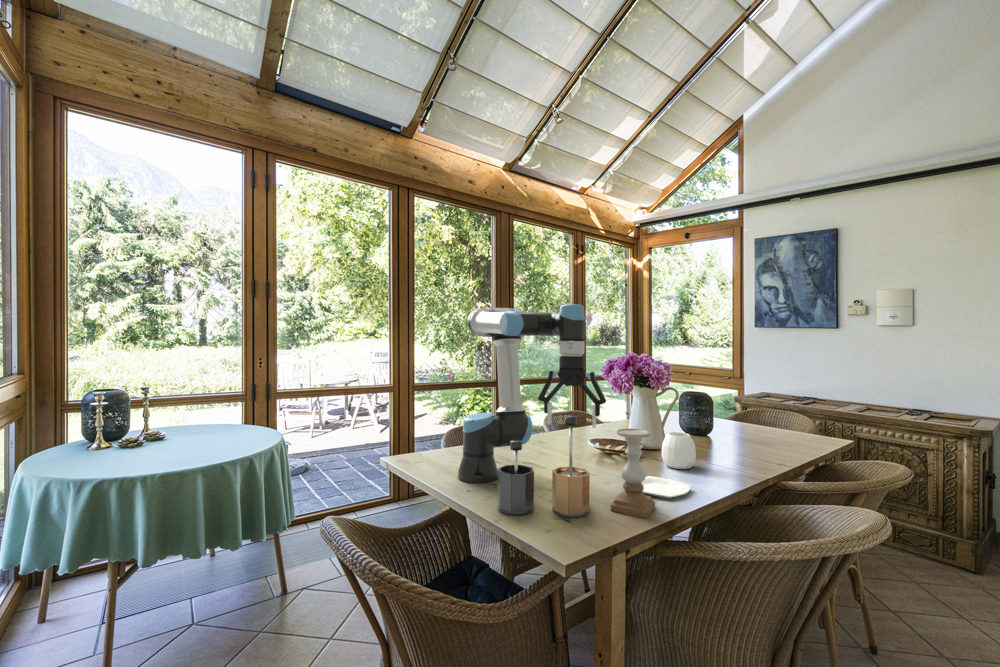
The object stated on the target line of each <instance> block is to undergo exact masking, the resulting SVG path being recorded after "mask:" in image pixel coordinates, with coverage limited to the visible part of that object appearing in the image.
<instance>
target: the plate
mask: <svg viewBox="0 0 1000 667" xmlns="http://www.w3.org/2000/svg"><path fill="white" fill-rule="evenodd" d="M641 484H642V485H643V487H644V489H643V491H642V493H643V494H645V495H647V496H651V497H656V496H657V497H656V498H661V497H662V499H667V498H668V499H672V497H673V498H677V497H681V496H683V495H686V494H688V493H689V492H690V491H691V488H692V485H689V484H687V483H684V482H680V481H677V480H674V479H669V478H665V477H664V478H663V477H659V476H653V475H652V476H651V475H648V476H646V478H645V480H644V481H643V482H641Z"/></svg>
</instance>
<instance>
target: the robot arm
mask: <svg viewBox="0 0 1000 667" xmlns="http://www.w3.org/2000/svg"><path fill="white" fill-rule="evenodd" d="M585 322H586V317H585V308H584V305H582V304H578V303H577V304H575V303H574V304H572V303H571V304H570V303H569V304H562V305H560V307H559V312H541V311H539V312H538V311H537V312H536V311H532V312H531V311H521V310H520V309H518V308H510V307H487V306H486V307H479V308H476V309H473V310H472V311H471V312H470V313H469V314H468V316H467V320H466V324H467V328H468V329H469V332H471V333H472V334H474V335H476V336H478V337H483V338H491V343H492V344H493V345H494V346H495V348H496V349H495V350H496V351H495V352H496V365H497V368H496V369H497V385H498V386H497V390H498V408H497V409H496V411H495V414H494V413H492V412H478V413H477V412H476V413H474V414H470V415H468V416H466V417H465V418H464V419H463V425H462V426H463V427H462V457H461V461H460V464H459V467H458V471H457V478H458V480H460V481H463V482H467V483H473V484H474V483H475V484H477V483H478V484H480V483H488V482H494V481H495V480H497V479H498V466H497V463H496V458H495V453H494V452H495V448H503V447H504V448H505V447H510V441H511V440H521V441H522V446H523V445H525V444H527V443H528V442H529V440H531V437H532V434H533V421H532V418H531V416H530V414H527V412H526V409H525V408H524V407H523V406H522V398H521V397H522V395H521V380H520V378H521V377H520V362H519V344H520V343H521V342H522V337H524V336H533V337H536V336H537V337H538V336H540V337H559V347H558V348H559V354H560V356H559V361H558V362H559V365H558V367H559V368H558V371H554V370H553V369H552V370H550V371H548V377H547V379H546V382H545V384H544V386H543V388H542V390H541V391H540V393H539V396H538V397H537V400H538V401H541V402H543V406H544V407H543V408H544V410H543V412H544V414H547V421H546V422H547V426H549V425H551V424H552V423H553V422H552V419H553V417H552V416H553V414H552V411H553V408H552V406H553V402H550V401H551V400H552V399H553V398H554V397H555V395H556V394H558V392H559V391H560V389H561V388H562V387H563V386H566V387H570V386H571V387H578V386H579V387H580V388H581V389H582V390H583V391H584V392H585V394H586V395H587V396H588V398H589V399H590V400H591V402H593V403H594V404H593V405H592V425H591V426H592V428H594V429H595V428H596V427H597V417H599V416H600V414H601V405H603V404H605V403H606V402H607V399H606V397H605V395H604V392H603V391H602V389H601V387H600V385H599V383H598V380H597V379H596V378H597V377H596V373H595V371H589V372H586V370H585V357H584V356H583V355H584V354H585V328H586V327H585V326H586V325H585V324H586V323H585ZM557 376H558V378H559V380H560V381H559V382H558V383H557V385H556V386H554V387H553V389H552V390H551V391H550V392H549V394H548V395H547V393H548V391H549V388H550V386H551V385H552V383H553V381H554V379H556V378H557ZM586 377H587V379H588V380H590V382H591V384H592V387H593V388H594V390H595V392H596V394H597V396H598V398H599V399H598V398H597V396H596V394H594V392H593V391H592V390H591V389H590V388H589V386H588V385H587V384H586V383H585V381H584V380H585V378H586ZM546 395H547V396H546Z"/></svg>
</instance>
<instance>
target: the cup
mask: <svg viewBox="0 0 1000 667" xmlns="http://www.w3.org/2000/svg"><path fill="white" fill-rule="evenodd" d="M696 454H697V450H696V444H695V442H694V439H693V438H692V436H691V434H690V433H686V432H680V431H679V432H678V431H672V432H670V431H669V432H667V433H666V435H665V437H664V439H663V441H662V444H661V459H662V462H663V463H664V464H665V465H666V466H667V467H668V468H673V469H677V470H687V469H690V468H692V467H694V464H695V462H696V458H697V457H696Z"/></svg>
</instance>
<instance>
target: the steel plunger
mask: <svg viewBox="0 0 1000 667" xmlns="http://www.w3.org/2000/svg"><path fill="white" fill-rule="evenodd" d="M509 447H510V450H511V451H514V465H515V474H517V472H518V465H519V462H518V461H519V460H518V458H519V457H518V454H519V453H518V451H522V450H523V445H522V441H521V440H511V441H510V446H509Z"/></svg>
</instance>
